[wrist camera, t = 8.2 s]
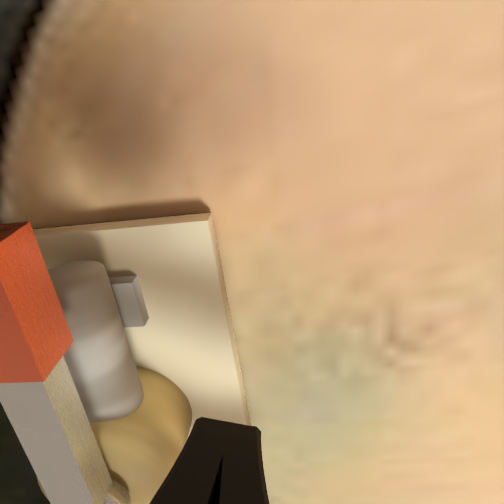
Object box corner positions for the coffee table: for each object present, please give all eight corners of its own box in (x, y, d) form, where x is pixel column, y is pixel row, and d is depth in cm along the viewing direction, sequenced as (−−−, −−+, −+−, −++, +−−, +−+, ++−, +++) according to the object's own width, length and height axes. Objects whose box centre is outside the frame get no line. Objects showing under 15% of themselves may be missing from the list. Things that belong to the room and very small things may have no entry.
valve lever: (139, 511, 17) (122, 560, 16) (81, 511, 18) (59, 559, 16) (33, 221, 12) (-9, 250, 10) (-46, 228, 12) (-98, 257, 11)
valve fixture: (267, 517, 24) (261, 621, 20) (98, 516, 26) (57, 612, 21) (211, 212, 17) (181, 273, 12) (-26, 234, 18) (-127, 296, 14)
